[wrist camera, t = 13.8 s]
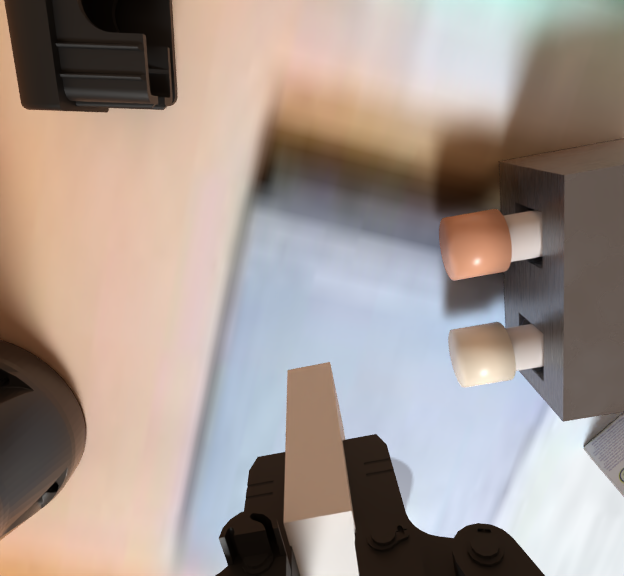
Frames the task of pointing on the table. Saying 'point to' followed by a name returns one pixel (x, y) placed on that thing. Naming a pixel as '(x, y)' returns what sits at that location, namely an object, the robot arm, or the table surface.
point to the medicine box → (610, 452)
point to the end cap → (93, 54)
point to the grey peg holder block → (572, 274)
